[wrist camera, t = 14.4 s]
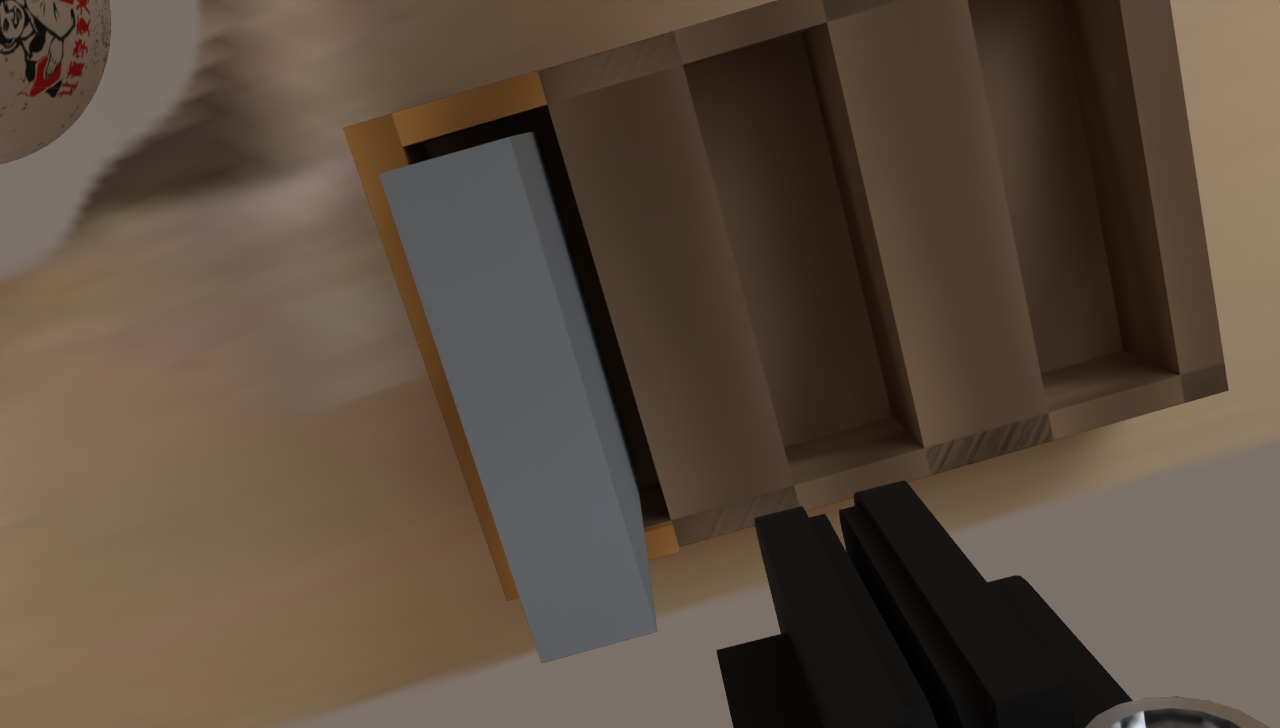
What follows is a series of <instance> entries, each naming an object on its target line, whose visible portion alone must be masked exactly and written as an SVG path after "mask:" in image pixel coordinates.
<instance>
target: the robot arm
mask: <svg viewBox="0 0 1280 728" xmlns="http://www.w3.org/2000/svg"><path fill="white" fill-rule="evenodd" d="M854 503H855V506H854V507H850V508H846V509H842V510H839V516H840V523H841V528H842V532H843V537H844V542H845V546H846V551H847V552H846V551H845V549H844V547H843V545H842V543H841V541H840V540H839V538H838V536H837V534H836V532H835V531H834V529H833V527H832V525H831V523H830V521H829V520H828V518H827V516H826V515H825V514H822V515H818V516H814V517H810V518H809V517H808V515H807V513H806V511H805V509H804V508H803V506H800V507H796V508H792V509H788V510H784V511H780V512H776V513H772V514H768V515H764V516H760V517H756V518H754V522H755V527H756V532H757V536H758V540H759V545H760V549H761V553H762V557H763V561H764V565H765V569H766V574H767V578H768V582H769V586H770V590H771V594H772V598H773V602H774V607H775V611H776V615H777V619H778V623H779V627H780V631H781V634H780V635H775V636H771V637H767V638H763V639H760V640H755V641H751V642H747V643H744V644H739V645H735V646H731V647H727V648H723V649H720V650H717V655H718V660H719V664H720V669H721V673H722V678H723V683H724V687H725V691H726V696H727V700H728V705H729V710H730V714H731V718H732V722H733V727H734V728H1270V727H1268V726H1267V725H1266V724H1264V723H1262V722H1260V721H1258V720H1257V719H1255V718H1253V717H1251V716H1249V715H1247V714H1246V713H1244V712H1242V711H1240V710H1237V709H1234V708H1231V707H1228V706H1225V705H1222V704H1218V703H1215V702H1212V701H1209V700H1201V699H1193V698H1186V697H1178V696H1174V697H1151V698H1143V699H1139V700H1135V701H1133V700H1132V699H1131V698H1130V697H1129V696H1128V695H1127V694H1126V692H1125V691H1124V690H1123V689H1122V688H1121V687H1120V686H1119V685H1118V683H1117V682H1116V681H1115V680H1114V679H1113V678H1112V677H1111V676H1110V674H1109V673H1108V672H1107V671H1106V670H1105V669H1104V668H1103V666H1102V665H1101V664H1100V663H1099V662H1098V661H1097V660H1096V659H1095V657H1094V656H1093V655H1092V654H1091V653H1090V652H1089V651H1088V650H1087V649H1086V647H1085V646H1084V645H1083V644H1082V643H1081V642H1080V641H1079V639H1078V638H1077V637H1076V636H1075V635H1074V634H1073V633H1072V632H1071V630H1070V629H1069V628H1068V627H1067V626H1066V625H1065V624H1064V622H1063V621H1062V620H1061V619H1060V618H1059V617H1058V616H1057V614H1056V613H1055V612H1054V611H1053V610H1052V609H1051V608H1050V607H1049V605H1048V604H1047V603H1046V602H1045V601H1044V600H1043V599H1042V597H1041V596H1040V595H1039V594H1038V593H1037V592H1036V591H1035V590H1034V589H1033V587H1032V586H1031V585H1030V584H1029V583H1028V582H1027V581H1026V580H1025V579H1023V578H1022V577H1021V576H1011V577H1007V578H1003V579H999V580H995V581H991V582H986V581H985V579H984V578H983V577H982V576H981V574H980V573H979V572H978V571H977V569H976V568H975V567H974V566H973V564H972V563H971V562H970V561H969V559H968V558H967V557H966V556H965V554H964V553H963V552H962V551H961V549H960V548H959V547H958V546H957V544H955V542H954V541H953V539H952V538H951V537H950V536H949V534H948V533H947V532H946V531H945V529H944V528H943V527H942V526H941V524H940V523H939V522H938V521H937V519H936V518H935V517H934V516H933V514H932V513H931V512H930V511H929V509H928V508H927V507H926V506H925V504H924V503H923V502H922V501H921V499H920V498H919V497H918V496H917V494H916V493H915V492H914V491H913V489H912V488H911V487H910V486H909V484H908V483H907V482H906V481H904V480H903V481H899V482H895V483H891V484H887V485H883V486H879V487H875V488H871V489H867V490H863V491H859V492H856V493H854Z"/></svg>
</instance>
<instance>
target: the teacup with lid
mask: <svg viewBox="0 0 1280 728" xmlns="http://www.w3.org/2000/svg"><path fill="white" fill-rule="evenodd" d="M110 35H111V11H110V3H109V0H0V164H3V163H7V162H10V161H13V160H17V159H20V158H22V157H25V156H27V155H29V154H32V153H34V152H36V151H38V150H40V149H41V148H43V147H45V146H47V145H48V144H49V143H51V142H52V141H54V140H55V139H57V138H58V137H60V135H62V134H63V133H64V132H65V131H66V130H67V129H68V128H70V127H71V125H72V124H73V123H74V122H75V121H76V120H77V119H78V118H79V117H80V115H81V114H82V113H83V111H84V110H85V108H86V107H87V105H88V104H89V102H90V101H91V99H92V97H93V95H94V93H95V92H96V90H97V87H98V85H99V83H100V80H101V78H102V75H103V72H104V68H105V65H106V62H107V57H108V52H109V46H110Z"/></svg>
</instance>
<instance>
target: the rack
mask: <svg viewBox="0 0 1280 728" xmlns="http://www.w3.org/2000/svg"><path fill="white" fill-rule="evenodd" d="M343 129H344V132H345V135H346V138H347V140H348V143H349V146H350V149H351V152H352V155H353V158H354V161H355V164H356V166H357V169H358V172H359V175H360V178H361V181H362V184H363V187H364V189H365V192H366V195H367V198H368V201H369V204H370V207H371V210H372V213H373V215H374V218H375V221H376V224H377V227H378V230H379V233H380V236H381V238H382V241H383V244H384V247H385V250H386V253H387V256H388V259H389V262H390V264H391V267H392V270H393V273H394V276H395V279H396V282H397V285H398V287H399V290H400V293H401V296H402V299H403V302H404V305H405V308H406V311H407V313H408V316H409V319H410V322H411V325H412V328H413V331H414V334H415V336H416V339H417V342H418V345H419V348H420V351H421V354H422V357H423V360H424V362H425V365H426V368H427V371H428V374H429V377H430V380H431V383H432V385H433V388H434V391H435V394H436V397H437V400H438V403H439V406H440V409H441V411H442V414H443V417H444V420H445V423H446V426H447V429H448V432H449V434H450V437H451V440H452V443H453V446H454V449H455V452H456V455H457V458H458V460H459V463H460V466H461V469H462V472H463V475H464V478H465V481H466V483H467V486H468V489H469V492H470V495H471V498H472V501H473V504H474V507H475V509H476V512H477V515H478V518H479V521H480V524H481V527H482V530H483V533H484V535H485V538H486V541H487V544H488V547H489V550H490V553H491V556H492V558H493V561H494V564H495V567H496V570H497V573H498V576H499V579H500V582H501V584H502V587H503V590H504V593H505V596H506V599H507V601H509V600H512V599H516V598H519V594H518V591H517V588H516V585H515V582H514V579H513V576H512V573H511V570H510V567H509V564H508V561H507V558H506V555H505V552H504V549H503V546H502V543H501V540H500V537H499V534H498V531H497V528H496V525H495V522H494V519H493V516H492V513H491V510H490V507H489V504H488V501H487V498H486V495H485V492H484V489H483V486H482V483H481V480H480V476H479V473H478V470H477V467H476V464H475V461H474V458H473V455H472V452H471V449H470V446H469V443H468V440H467V437H466V434H465V431H464V428H463V425H462V422H461V419H460V416H459V413H458V410H457V407H456V404H455V401H454V398H453V395H452V392H451V389H450V386H449V383H448V380H447V377H446V374H445V371H444V368H443V365H442V362H441V359H440V356H439V353H438V350H437V347H436V344H435V341H434V338H433V335H432V332H431V329H430V326H429V323H428V320H427V317H426V314H425V311H424V308H423V305H422V302H421V299H420V296H419V293H418V290H417V287H416V284H415V281H414V278H413V275H412V272H411V269H410V266H409V263H408V260H407V257H406V254H405V251H404V248H403V245H402V242H401V239H400V236H399V233H398V230H397V227H396V224H395V221H394V218H393V215H392V212H391V209H390V206H389V203H388V200H387V197H386V194H385V191H384V188H383V185H382V182H381V179H380V176H379V174H380V173H384V172H387V171H391V170H395V169H398V168H402V167H405V166H409V165H412V164H416V163H419V162H423V161H426V160H430V159H433V158H437V157H440V156H444V155H447V154H451V153H454V152H458V151H461V150H465V149H468V148H472V147H476V146H479V145H483V144H486V143H490V142H493V141H497V140H500V139H504V138H507V137H511V136H515V135H520V134H524V133H529V132H533V131H538V134H539V138H540V141H541V145H542V148H543V151H544V155H545V158H546V162H547V165H548V169H549V172H550V175H551V179H552V182H553V186H554V189H555V192H556V196H557V199H558V203H559V206H560V210H561V213H562V216H563V220H564V223H565V227H566V230H567V234H568V237H569V240H570V244H571V247H572V251H573V254H574V257H575V261H576V264H577V268H578V271H579V275H580V278H581V281H582V285H583V288H584V292H585V295H586V299H587V302H588V305H589V309H590V312H591V316H592V319H593V323H594V326H595V329H596V333H597V336H598V340H599V343H600V346H601V350H602V353H603V357H604V360H605V364H606V367H607V370H608V374H609V377H610V381H611V384H612V388H613V391H614V394H615V398H616V401H617V405H618V408H619V411H620V415H621V418H622V422H623V425H624V429H625V432H626V435H627V439H628V442H629V446H630V449H631V453H632V456H633V459H634V463H635V466H636V473H637V481H638V488H639V496H640V504H641V511H642V519H643V527H644V534H645V542H646V549H647V557H648V561H649V560H652V559H656V558H660V557H663V556H667V555H670V554H674V553H677V552H680V549H679V547H681V546H685V545H688V544H692V543H695V542H699V541H702V540H706V539H709V538H713V537H716V536H720V535H723V534H727V533H730V532H734V531H737V530H741V529H744V528H748V527H751V526H755V522H754V518H756V517H760V516H764V515H768V514H772V513H776V512H780V511H784V510H788V509H792V508H796V507H800V506H803V508H804V509H805V511H807V510H811V509H814V508H818V507H821V506H825V505H828V504H832V503H835V502H839V501H843V500H846V499H850V498H853V497H854V493H856V492H859V491H863V490H867V489H871V488H875V487H879V486H883V485H887V484H891V483H895V482H899V481H903V480H904V481H906V482H909V481H913V480H916V479H920V478H923V477H927V476H930V475H934V474H937V473H941V472H944V471H948V470H951V469H955V468H958V467H962V466H965V465H969V464H972V463H976V462H979V461H983V460H986V459H990V458H993V457H997V456H1000V455H1004V454H1007V453H1011V452H1014V451H1018V450H1021V449H1025V448H1028V447H1032V446H1035V445H1039V444H1042V443H1046V442H1049V441H1053V440H1056V439H1060V438H1063V437H1067V436H1071V435H1074V434H1078V433H1081V432H1085V431H1088V430H1092V429H1095V428H1099V427H1102V426H1106V425H1109V424H1113V423H1116V422H1120V421H1123V420H1127V419H1130V418H1134V417H1137V416H1141V415H1144V414H1148V413H1151V412H1155V411H1158V410H1162V409H1165V408H1169V407H1172V406H1176V405H1179V404H1183V403H1186V402H1190V401H1193V400H1197V399H1200V398H1204V397H1207V396H1211V395H1214V394H1218V393H1221V392H1225V391H1228V384H1227V377H1226V371H1225V364H1224V357H1223V351H1222V344H1221V337H1220V331H1219V324H1218V317H1217V311H1216V304H1215V298H1214V291H1213V284H1212V278H1211V271H1210V264H1209V258H1208V251H1207V244H1206V238H1205V231H1204V224H1203V218H1202V211H1201V204H1200V198H1199V191H1198V184H1197V178H1196V171H1195V165H1194V158H1193V151H1192V145H1191V138H1190V131H1189V125H1188V118H1187V111H1186V105H1185V98H1184V91H1183V85H1182V78H1181V71H1180V65H1179V58H1178V51H1177V45H1176V38H1175V31H1174V25H1173V18H1172V12H1171V5H1170V0H777V1H774V2H770V3H767V4H764V5H760V6H757V7H753V8H750V9H747V10H743V11H740V12H736V13H733V14H730V15H726V16H723V17H720V18H716V19H713V20H709V21H706V22H703V23H699V24H696V25H692V26H689V27H686V28H682V29H679V30H675V31H672V32H669V33H665V34H662V35H659V36H655V37H652V38H648V39H645V40H642V41H638V42H635V43H631V44H628V45H625V46H621V47H618V48H615V49H611V50H608V51H604V52H601V53H598V54H594V55H591V56H587V57H584V58H581V59H577V60H574V61H571V62H567V63H564V64H560V65H557V66H554V67H550V68H547V69H543V70H540V71H534V72H531V73H527V74H524V75H521V76H517V77H514V78H510V79H507V80H504V81H500V82H497V83H493V84H490V85H487V86H483V87H480V88H477V89H473V90H470V91H466V92H463V93H460V94H456V95H453V96H449V97H446V98H443V99H439V100H436V101H433V102H429V103H426V104H422V105H419V106H416V107H412V108H409V109H405V110H402V111H399V112H395V113H392V114H388V115H385V116H382V117H378V118H375V119H372V120H368V121H365V122H361V123H358V124H355V125H351V126H348V127H344V128H343Z"/></svg>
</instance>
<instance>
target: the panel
mask: <svg viewBox="0 0 1280 728" xmlns="http://www.w3.org/2000/svg"><path fill="white" fill-rule="evenodd" d="M379 176H380V179H381V182H382V185H383V188H384V191H385V194H386V197H387V200H388V203H389V206H390V209H391V212H392V215H393V218H394V221H395V224H396V227H397V230H398V233H399V236H400V239H401V242H402V245H403V248H404V251H405V254H406V257H407V260H408V263H409V266H410V269H411V272H412V275H413V278H414V281H415V284H416V287H417V290H418V293H419V296H420V299H421V302H422V305H423V308H424V311H425V314H426V317H427V320H428V323H429V326H430V329H431V332H432V335H433V338H434V341H435V344H436V347H437V350H438V353H439V356H440V359H441V362H442V365H443V368H444V371H445V374H446V377H447V380H448V383H449V386H450V389H451V392H452V395H453V398H454V401H455V404H456V407H457V410H458V413H459V416H460V419H461V422H462V425H463V428H464V431H465V434H466V437H467V440H468V443H469V446H470V449H471V452H472V455H473V458H474V461H475V464H476V467H477V470H478V473H479V476H480V480H481V483H482V486H483V489H484V492H485V495H486V498H487V501H488V504H489V507H490V510H491V513H492V516H493V519H494V522H495V525H496V528H497V531H498V534H499V537H500V540H501V543H502V546H503V549H504V552H505V555H506V558H507V561H508V564H509V567H510V570H511V573H512V576H513V579H514V582H515V585H516V588H517V591H518V594H519V597H520V600H521V603H522V606H523V609H524V612H525V615H526V618H527V621H528V624H529V627H530V630H531V633H532V636H533V639H534V642H535V645H536V648H537V651H538V654H539V657H540V660H541V663H545V662H549V661H552V660H556V659H559V658H563V657H567V656H570V655H574V654H578V653H581V652H585V651H588V650H592V649H595V648H599V647H603V646H607V645H610V644H614V643H618V642H621V641H625V640H629V639H632V638H636V637H639V636H643V635H647V634H651V633H654V632H657V627H656V618H655V610H654V603H653V595H652V588H651V580H650V572H649V565H648V557H647V549H646V542H645V534H644V527H643V519H642V511H641V504H640V496H639V488H638V481H637V473H636V466H635V463H634V459H633V456H632V453H631V449H630V446H629V442H628V439H627V435H626V432H625V429H624V425H623V422H622V418H621V415H620V411H619V408H618V405H617V401H616V398H615V394H614V391H613V388H612V384H611V381H610V377H609V374H608V370H607V367H606V364H605V360H604V357H603V353H602V350H601V346H600V343H599V340H598V336H597V333H596V329H595V326H594V323H593V319H592V316H591V312H590V309H589V305H588V302H587V299H586V295H585V292H584V288H583V285H582V281H581V278H580V275H579V271H578V268H577V264H576V261H575V257H574V254H573V251H572V247H571V244H570V240H569V237H568V234H567V230H566V227H565V223H564V220H563V216H562V213H561V210H560V206H559V203H558V199H557V196H556V192H555V189H554V186H553V182H552V179H551V175H550V172H549V169H548V165H547V162H546V158H545V155H544V151H543V148H542V145H541V141H540V138H539V134H538V131H533V132H529V133H524V134H520V135H515V136H511V137H507V138H504V139H500V140H497V141H493V142H490V143H486V144H483V145H479V146H476V147H472V148H468V149H465V150H461V151H458V152H454V153H451V154H447V155H444V156H440V157H437V158H433V159H430V160H426V161H423V162H419V163H416V164H412V165H409V166H405V167H402V168H398V169H395V170H391V171H387V172H384V173H380V174H379Z"/></svg>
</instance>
